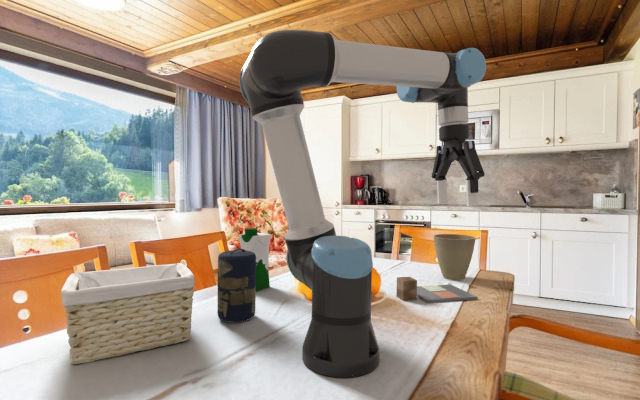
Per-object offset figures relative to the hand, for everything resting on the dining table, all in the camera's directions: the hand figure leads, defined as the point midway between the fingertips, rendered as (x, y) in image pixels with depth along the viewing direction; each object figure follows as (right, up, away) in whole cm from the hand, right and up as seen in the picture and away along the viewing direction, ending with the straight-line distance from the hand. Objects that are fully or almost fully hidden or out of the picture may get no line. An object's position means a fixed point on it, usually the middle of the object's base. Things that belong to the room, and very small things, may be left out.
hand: (456, 204), depth 96 cm
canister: (-58, -29, -5) cm, 66 cm away
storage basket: (-78, -30, -19) cm, 85 cm away
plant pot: (+13, -29, +38) cm, 50 cm away
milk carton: (-59, -28, +22) cm, 69 cm away
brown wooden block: (-10, -29, +13) cm, 34 cm away
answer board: (+1, -29, +18) cm, 34 cm away
